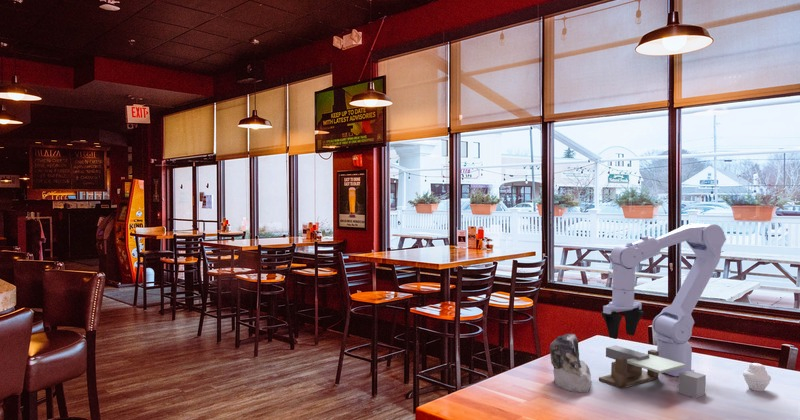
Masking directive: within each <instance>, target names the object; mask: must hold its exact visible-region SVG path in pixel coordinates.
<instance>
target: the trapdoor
mask: <svg viewBox="0 0 800 420" xmlns="http://www.w3.org/2000/svg"><path fill="white" fill-rule="evenodd" d="M617 357H623V358H626V359H627V363H628V364H631V365H634V366H637V367H641V368H642V369H644V370H647V369H648V370H651V371H654V372H657V373H658V374H664V373H663V372H667V371H671V370H674V369H678V368H682V367H685V364H683V363H679V362H676V361H672V360H669V359H665V358H662V357H658V356H655V355H651V354H649V355H648V353H644V352H640V351H637V350H634V349H631V348H626V347H623V346H619V345H611V346H608V347H605V358H608V359H613V360H615V358H617Z"/></svg>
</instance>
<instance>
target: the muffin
mask: <svg viewBox="0 0 800 420" xmlns="http://www.w3.org/2000/svg"><path fill="white" fill-rule="evenodd" d="M742 376H743V378H744V381H745V382H746V384H747V387H748V388H749V390H752V391H754V392H764V391H765V390H766V388H767V387H768V386H769V385H770V382H771V380H772V377H771V375H770V374H769V373H768V371H767V370H766V367H765V366H764V365H763V364H761V363H758V362H753V363H750V364H749V365H748V367H747V368H746V369H745V370H743V373H742Z"/></svg>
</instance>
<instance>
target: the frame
mask: <svg viewBox="0 0 800 420" xmlns="http://www.w3.org/2000/svg"><path fill="white" fill-rule="evenodd" d="M647 354H648V355H649V354H651V355H655V356H658V357H659V351H657V350H655V349H649V350H647ZM614 360H615V361H612V362H611V369H610V370H611V372H610V374H607V375H603V376H599V377H598V381H600V382H603V383H605V384H608V385H611V386H614V387H616V388H619V389H624V388H627V387H631V386H636V385H639V384H642V383H646V382H649V381H653V380H657V379H659V373H657V372H654V371H651V370H648V369H646V370H647V371H645V370H643V368H641V367H637V366H634V365H631V364H628V363H627V359H626V358H623V357H617V358H615V359H614Z"/></svg>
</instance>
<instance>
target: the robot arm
mask: <svg viewBox="0 0 800 420" xmlns="http://www.w3.org/2000/svg"><path fill="white" fill-rule="evenodd" d="M640 238H641V239H638V240H636V241H633V242H631V241H629V242H627V243H626V245H625V246H623V245H618V246H615V247H614V248H613V249H612V251H611V252H610V254H609V255H608V259H609V261H610V263H611V265H612V295H611V301H609V302H608V304H606V305H602V310H603V311H601V316H602V318H603V320H604V323H605V324H606V328H607V331H608V335H609V336H608V337H609V338H610V339H615V340H617V339H618V337H619V332H620V331H619V329H620V324H621V321H622V320H623V319H622V318H623V317H624V320H625V333H626V335H628V336H633V337H634V336H635V334H636V331H637V327H638V324H639V322H640V320H641V319H642V317H643V316H644V311H643V310H642V305H643V303H642V302H640V301H635V282H636V281H635V279H636V278H635V275H636V267H638V265H639V264H640V263H641V262H643V261H646V260H649V259H651V258H653V257H656V256H658V255H660V253H661V250H663V249H665V248H669V247H672V246H674V245H678V244H680V243H683V242H684V243H686V244H687V245H688V246H689V248H690V250H692V252H693V253H694V254H695V260H694V262H693V264H692V266H691V268H690V269H689V272H688V273H687V275H686V276H685V279H684V280H683V282H682V284H681V286H680V288H679V290H678V291H677V293H676V296H674V299H673V301H672V303H671V304H670V305H668V306H666V307H663V309H662V310H661V312H660V313H659V314H657V315H656V316H655V317H654V318H653V320H652V325H651V326H652V329H653V331H654V332H655V333H656V338H657V345H656V349H657V350H656V351H659V357H662V358H665V359H669V360H672V361H676V362H679V363H683V364H685V367H682V368H678V369H674V370H671V371H667V372H663V373H662V374H666V375H669V376H673V377H679V373H681V372H684V371H687V370H689V371H693V372H695V369H693V368H692V353H693V350H692V345H691V344H690V343H689V340H690V338H691V337H692V333H693V327H694V324H695V320H694V317H693V316H692V313H693V311H694V309H695V307H696V306H697V303H698V302H699V299H700V298H701V296H702V294H703V292H704V290H705V288H706V287H707V285H708V283H709V281H710V279H711V278H712V276H713V274H714V272H715V270H716V269H717V266H718V264H719V263H720V260H721V255H722V249H723V246H724V244H725V242H726V241H727V237H726V235H725V233H724V230H723V228H722V227H721V226H720V225H718V224H708V223H707V224H706V223H697V222H691V223H688V224H683V225H681V226H680V227H677V228H675V229H673V230H671V231H669V232H666V233H664V234H662V235H660V236H657V237H656V238H655V237H653V236H648V235H642V236H641V237H640ZM620 312H622V313H623V315H620V314H619V313H620Z"/></svg>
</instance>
